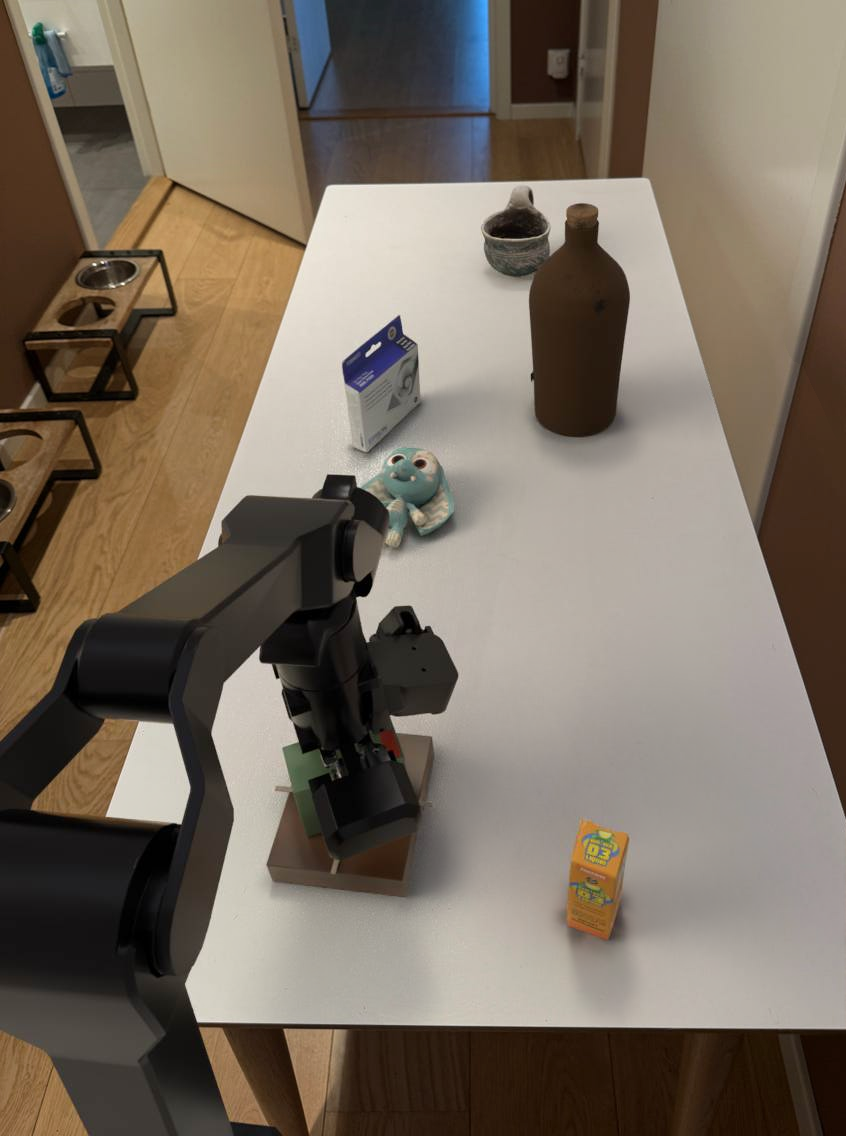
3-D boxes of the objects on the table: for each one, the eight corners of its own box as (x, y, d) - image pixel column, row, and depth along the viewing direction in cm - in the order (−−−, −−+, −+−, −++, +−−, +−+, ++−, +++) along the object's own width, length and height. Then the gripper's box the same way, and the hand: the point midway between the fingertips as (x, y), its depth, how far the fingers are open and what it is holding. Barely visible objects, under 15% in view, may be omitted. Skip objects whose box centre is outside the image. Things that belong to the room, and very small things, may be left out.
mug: (481, 287, 134) (478, 219, 127) (484, 244, 143) (482, 180, 136) (550, 286, 133) (551, 218, 126) (549, 243, 142) (550, 178, 136)
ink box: (368, 455, 107) (355, 369, 99) (351, 449, 108) (337, 363, 100) (424, 401, 114) (416, 317, 106) (408, 396, 115) (399, 312, 107)
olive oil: (638, 407, 111) (657, 203, 95) (586, 453, 105) (596, 244, 89) (564, 376, 117) (570, 178, 100) (510, 418, 111) (506, 215, 94)
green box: (307, 837, 70) (293, 791, 66) (295, 792, 73) (281, 745, 68) (411, 801, 72) (404, 754, 67) (396, 758, 74) (388, 710, 70)
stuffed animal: (324, 508, 92) (368, 418, 99) (340, 550, 98) (380, 462, 105) (429, 529, 89) (467, 434, 96) (438, 571, 95) (474, 479, 102)
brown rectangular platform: (420, 900, 69) (417, 882, 67) (257, 881, 70) (250, 863, 68) (447, 754, 78) (445, 735, 76) (302, 739, 79) (297, 720, 77)
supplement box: (562, 929, 67) (565, 858, 60) (577, 884, 69) (582, 811, 62) (608, 946, 66) (617, 876, 59) (622, 900, 68) (632, 828, 61)
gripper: (493, 725, 56) (500, 856, 67) (395, 526, 69) (414, 661, 80) (310, 792, 54) (347, 918, 64) (244, 572, 67) (283, 705, 77)
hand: (352, 787), depth 71 cm, fingers closed on green box, 4 cm apart
